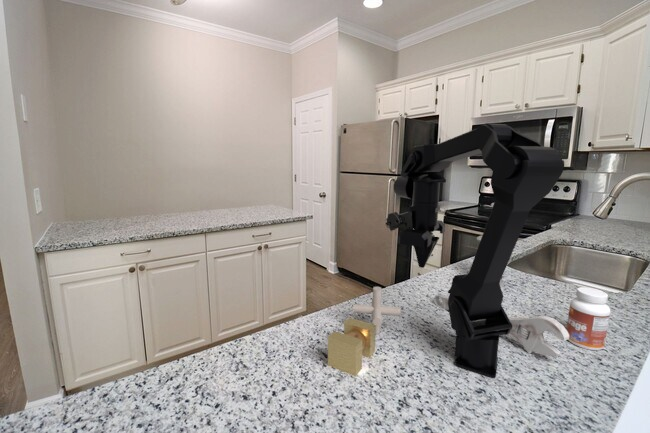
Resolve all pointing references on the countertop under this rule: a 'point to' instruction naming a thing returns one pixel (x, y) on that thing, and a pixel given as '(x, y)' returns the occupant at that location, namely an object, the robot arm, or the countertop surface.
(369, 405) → the countertop surface
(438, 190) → the robot arm
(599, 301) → the pill bottle
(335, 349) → the square-ended brass dumbbell
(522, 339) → the wrench
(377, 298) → the pipe connector
